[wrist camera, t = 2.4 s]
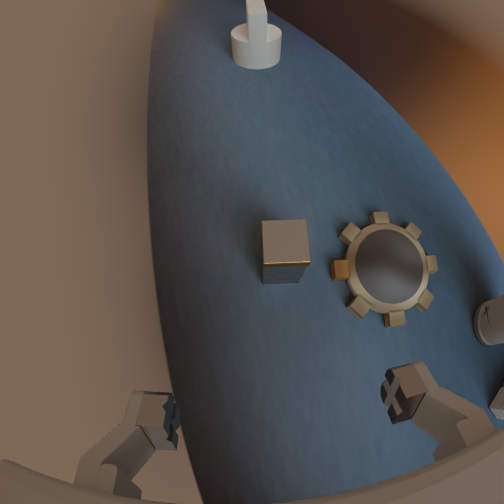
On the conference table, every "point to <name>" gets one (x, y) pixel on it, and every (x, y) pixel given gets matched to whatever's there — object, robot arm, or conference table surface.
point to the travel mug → (490, 322)
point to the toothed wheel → (385, 269)
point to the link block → (284, 251)
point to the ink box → (498, 404)
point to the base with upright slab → (256, 39)
